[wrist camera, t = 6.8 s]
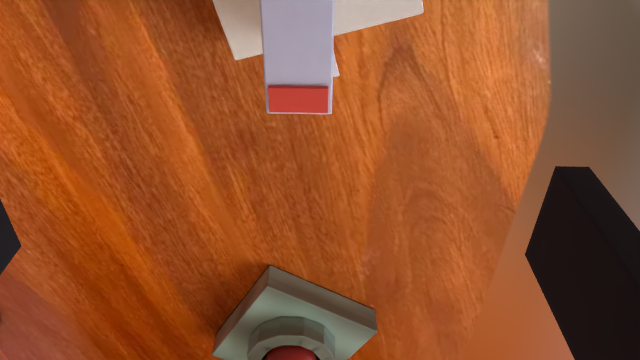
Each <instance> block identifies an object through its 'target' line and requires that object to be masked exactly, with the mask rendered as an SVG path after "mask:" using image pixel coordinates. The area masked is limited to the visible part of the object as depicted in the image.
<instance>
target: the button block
mask: <svg viewBox="0 0 640 360" xmlns="http://www.w3.org/2000/svg"><path fill="white" fill-rule="evenodd" d="M376 333H377V323H376V313H375V310H373V309H371V308H368V307H366V306H364V305H361V304H359V303H357V302H355V301H352V300H350V299H348V298H345V297H343V296H341V295H338V294H336V293H334V292H331V291H329V290H327V289H324V288H322V287H320V286H317V285H315V284H313V283H310V282H308V281H306V280H303V279H301V278H299V277H296V276H294V275H292V274H289V273H287V272H285V271H282V270H280V269H278V268H275V267H273V266H271V265H270V266H269V267H268V268H267V269H266V271H265V272H264V273H263V274H262V276H261V277H260V278H259V280H258V281H257V282H256V283H255V285H254V286H253V287H252V289H251V290H250V291H249V292H248V294H247V295H246V296H245V298H244V299H243V300H242V301H241V303H240V304H239V305H238V307H237V308H236V309H235V311H234V312H233V313H232V314H231V316H230V317H229V318H228V320H227V321H226V322H225V323H224V325H223V326H222V327H221V329H220V330H219V331H218V332H217V334H216V337H215V342H214V346H213V351H212V356H215V357H218V358H221V359H224V360H266V356H267V354H268V352H269V351H270V350H271V349H273V348H276V347H279V346H282V345H294V346H301V347H304V348H307V349H309V350H311V351H312V352H313V353H314V354H315V356H316V360H348V359H349V358H350V357H351V356H352V355H353V354H354V353H355V352H356V351H357V350H358V349H359V348H360V347H362V346H363V345H364V344H365V343H366V342H367V341H368V340H369V339H370V338H371V337H372V336H373V335H374V334H376Z"/></svg>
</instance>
